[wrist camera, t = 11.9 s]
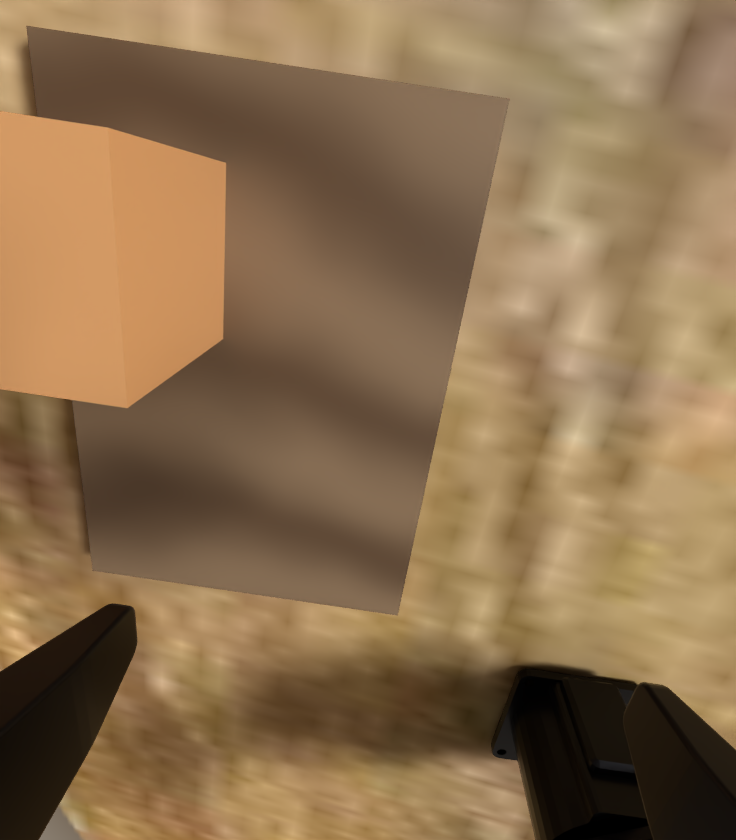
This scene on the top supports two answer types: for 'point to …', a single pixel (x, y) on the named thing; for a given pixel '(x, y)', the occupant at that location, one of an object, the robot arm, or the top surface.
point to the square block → (105, 260)
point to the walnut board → (288, 320)
